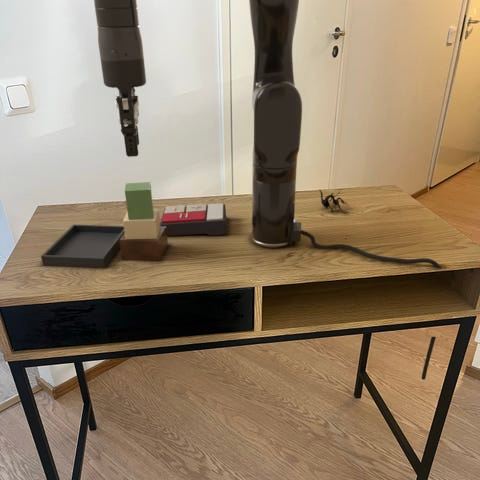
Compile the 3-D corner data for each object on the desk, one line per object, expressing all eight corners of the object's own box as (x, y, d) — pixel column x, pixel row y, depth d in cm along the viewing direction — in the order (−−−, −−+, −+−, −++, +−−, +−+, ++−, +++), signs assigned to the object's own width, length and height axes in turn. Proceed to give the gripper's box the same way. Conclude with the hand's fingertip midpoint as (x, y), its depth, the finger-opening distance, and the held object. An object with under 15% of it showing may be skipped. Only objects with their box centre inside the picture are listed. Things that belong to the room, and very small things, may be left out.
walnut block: (168, 245, 111) (166, 226, 109) (159, 261, 104) (157, 241, 102) (133, 244, 112) (130, 225, 110) (122, 259, 105) (119, 239, 103)
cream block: (160, 226, 109) (158, 209, 106) (157, 238, 103) (155, 220, 101) (130, 227, 108) (128, 209, 106) (125, 239, 103) (122, 221, 101)
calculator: (164, 204, 123) (225, 200, 122) (166, 221, 125) (226, 217, 125) (158, 221, 113) (224, 217, 113) (161, 239, 116) (226, 234, 115)
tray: (129, 234, 116) (128, 226, 115) (104, 267, 102) (103, 258, 101) (74, 232, 118) (73, 224, 117) (43, 265, 103) (40, 256, 102)
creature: (338, 206, 134) (312, 203, 131) (344, 187, 131) (318, 183, 128) (353, 217, 128) (325, 214, 125) (359, 196, 125) (332, 193, 122)
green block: (153, 209, 106) (150, 181, 103) (153, 218, 102) (150, 189, 99) (129, 211, 105) (125, 183, 102) (128, 220, 101) (124, 191, 98)
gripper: (143, 59, 82) (153, 159, 91) (143, 52, 94) (152, 141, 103) (96, 60, 82) (111, 161, 90) (103, 53, 93) (115, 142, 102)
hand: (133, 150), depth 97 cm, fingers open, 8 cm apart
